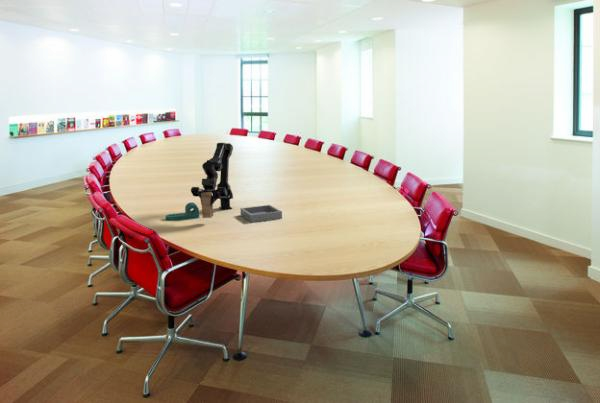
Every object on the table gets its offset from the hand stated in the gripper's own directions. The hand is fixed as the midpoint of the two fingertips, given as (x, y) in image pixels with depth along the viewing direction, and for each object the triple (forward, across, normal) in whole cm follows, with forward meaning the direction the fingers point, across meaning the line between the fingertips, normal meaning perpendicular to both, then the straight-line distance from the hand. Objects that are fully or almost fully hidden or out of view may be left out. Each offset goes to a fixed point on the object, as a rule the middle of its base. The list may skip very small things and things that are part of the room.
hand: (206, 205), depth 254 cm
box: (-5, +26, +20) cm, 32 cm away
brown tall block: (+4, 0, +6) cm, 7 cm away
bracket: (-1, -18, +16) cm, 24 cm away
